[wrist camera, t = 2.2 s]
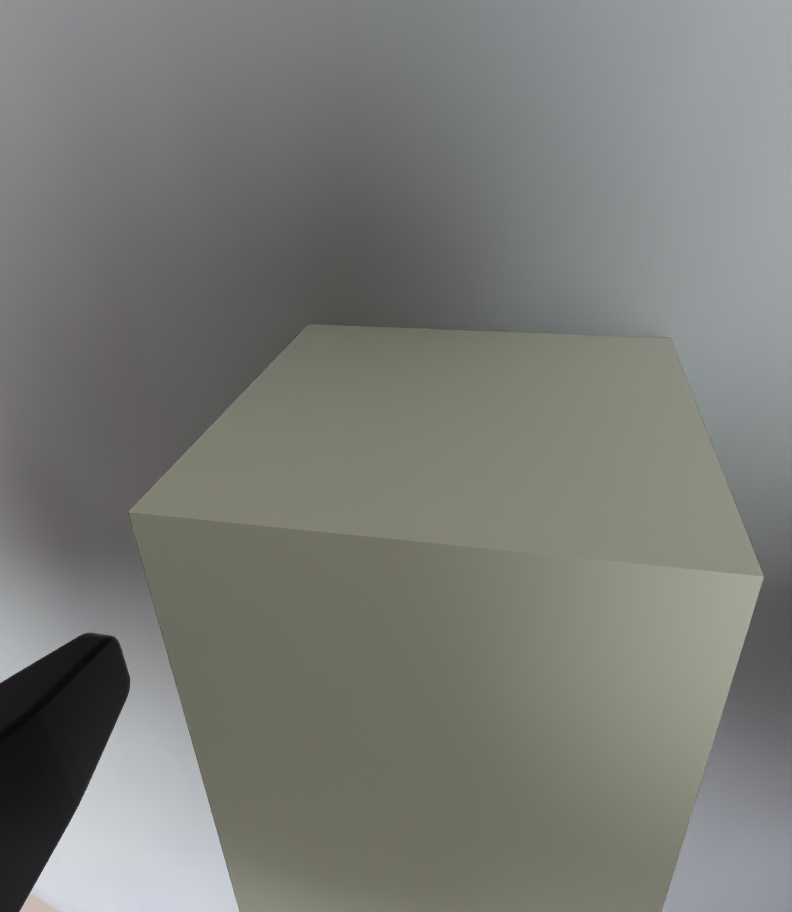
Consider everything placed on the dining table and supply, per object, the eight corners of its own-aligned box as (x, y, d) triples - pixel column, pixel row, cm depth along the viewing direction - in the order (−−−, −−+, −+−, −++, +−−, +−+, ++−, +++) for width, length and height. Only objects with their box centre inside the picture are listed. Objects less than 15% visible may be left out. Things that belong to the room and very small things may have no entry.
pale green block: (600, 725, 13) (619, 1049, 9) (347, 688, 14) (254, 963, 10) (669, 334, 9) (764, 576, 5) (311, 321, 10) (127, 512, 6)
